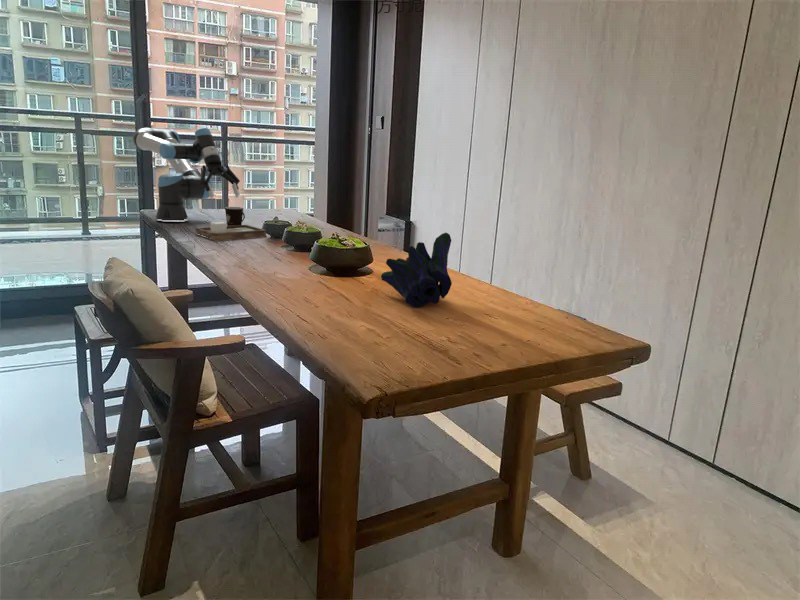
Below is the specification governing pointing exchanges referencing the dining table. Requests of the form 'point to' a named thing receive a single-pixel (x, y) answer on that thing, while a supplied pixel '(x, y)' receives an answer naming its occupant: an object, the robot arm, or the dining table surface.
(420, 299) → the dark blue branching piece
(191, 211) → the dining table surface
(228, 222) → the coffee mug
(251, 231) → the tray
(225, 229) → the block
